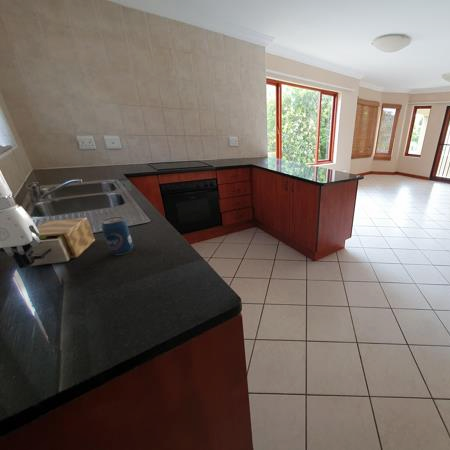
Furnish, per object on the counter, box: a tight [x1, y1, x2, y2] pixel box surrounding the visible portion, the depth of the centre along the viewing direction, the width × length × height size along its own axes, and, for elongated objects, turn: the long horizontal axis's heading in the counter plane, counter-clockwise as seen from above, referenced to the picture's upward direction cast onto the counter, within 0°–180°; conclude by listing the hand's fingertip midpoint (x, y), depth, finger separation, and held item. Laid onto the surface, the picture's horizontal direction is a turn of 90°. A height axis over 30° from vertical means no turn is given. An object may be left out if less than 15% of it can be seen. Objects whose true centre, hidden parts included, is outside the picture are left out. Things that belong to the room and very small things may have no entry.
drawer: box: [23, 235, 72, 267], centre depth 77 cm, size 18×10×8 cm, turn 18°
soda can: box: [101, 216, 134, 256], centre depth 82 cm, size 7×7×12 cm
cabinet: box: [36, 217, 96, 260], centre depth 83 cm, size 14×12×10 cm
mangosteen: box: [39, 236, 57, 240], centre depth 77 cm, size 5×5×7 cm
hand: (27, 264), depth 68 cm, fingers closed
